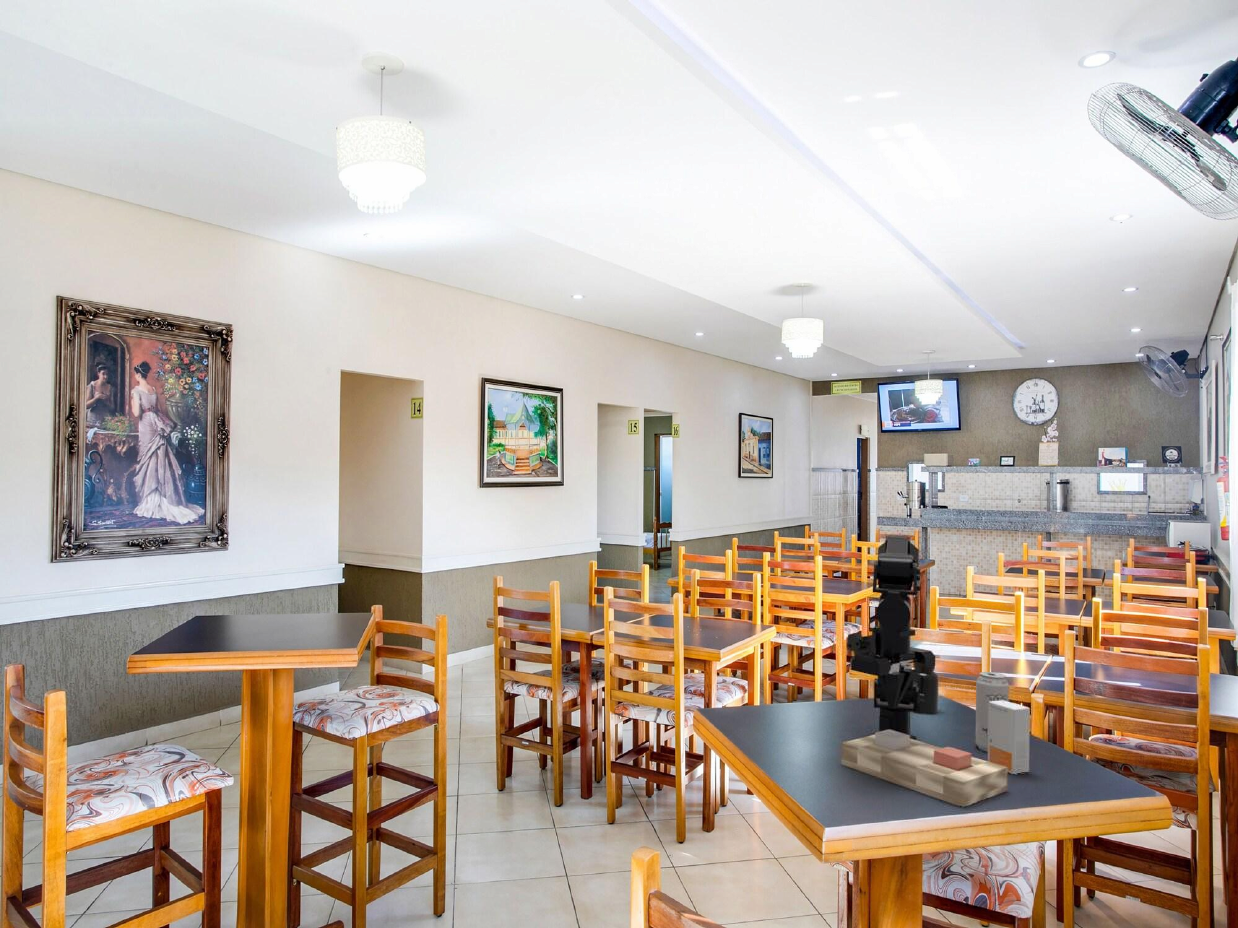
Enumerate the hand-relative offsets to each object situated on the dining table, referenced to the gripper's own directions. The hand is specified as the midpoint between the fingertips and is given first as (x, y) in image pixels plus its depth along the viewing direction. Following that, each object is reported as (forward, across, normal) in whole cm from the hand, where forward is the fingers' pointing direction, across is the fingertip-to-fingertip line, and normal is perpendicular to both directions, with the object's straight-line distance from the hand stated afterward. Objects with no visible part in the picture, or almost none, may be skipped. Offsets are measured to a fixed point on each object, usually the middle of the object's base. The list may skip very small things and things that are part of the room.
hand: (892, 707), depth 147 cm
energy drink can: (+11, -28, +4) cm, 30 cm away
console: (+11, 0, +6) cm, 13 cm away
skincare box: (+11, -19, +12) cm, 25 cm away
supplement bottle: (+11, -43, -21) cm, 49 cm away
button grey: (+8, 0, 0) cm, 8 cm away
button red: (+8, 0, +12) cm, 15 cm away
